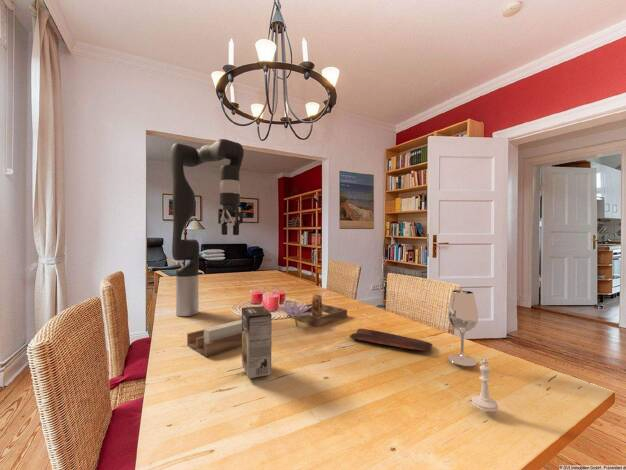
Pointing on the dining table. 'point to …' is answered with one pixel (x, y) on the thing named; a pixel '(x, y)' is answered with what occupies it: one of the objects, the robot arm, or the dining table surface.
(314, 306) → the stone disc
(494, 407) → the chess piece
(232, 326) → the cream rectangular block
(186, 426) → the dining table surface
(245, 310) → the coffee box
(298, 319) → the square wooden tray
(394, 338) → the wooden tablet
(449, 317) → the wineglass
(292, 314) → the water lily
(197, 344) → the rack
